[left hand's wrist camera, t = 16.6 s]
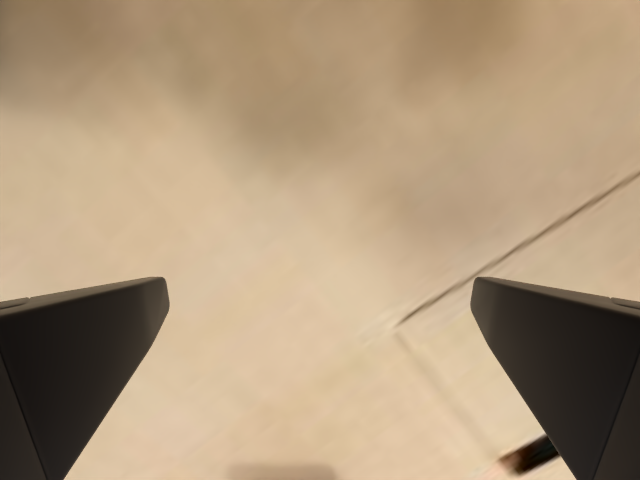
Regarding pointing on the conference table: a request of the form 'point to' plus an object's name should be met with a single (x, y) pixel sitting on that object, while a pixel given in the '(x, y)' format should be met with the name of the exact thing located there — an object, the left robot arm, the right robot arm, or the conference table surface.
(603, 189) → the conference table surface
